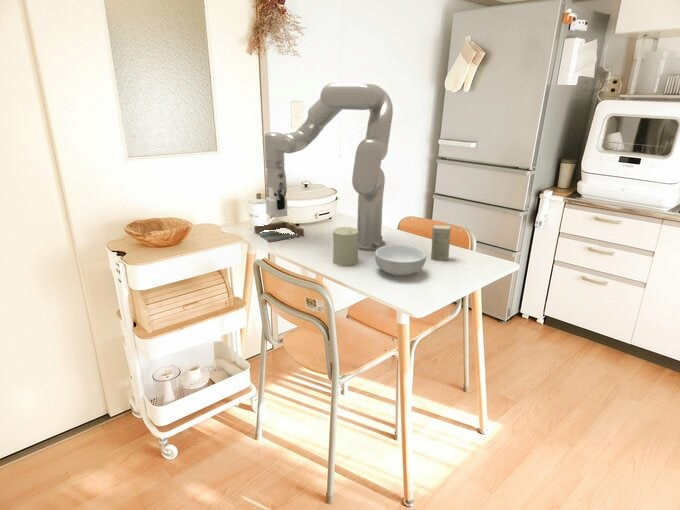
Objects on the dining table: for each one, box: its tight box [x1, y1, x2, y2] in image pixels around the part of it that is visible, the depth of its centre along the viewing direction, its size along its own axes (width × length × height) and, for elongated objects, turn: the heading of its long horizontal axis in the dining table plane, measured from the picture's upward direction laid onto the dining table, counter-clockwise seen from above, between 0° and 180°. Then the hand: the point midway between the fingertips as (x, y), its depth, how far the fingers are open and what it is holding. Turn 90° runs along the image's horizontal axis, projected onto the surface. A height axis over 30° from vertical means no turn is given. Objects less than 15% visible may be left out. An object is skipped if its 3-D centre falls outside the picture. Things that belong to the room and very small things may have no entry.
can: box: [332, 226, 359, 267], centre depth 157 cm, size 9×9×12 cm
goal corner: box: [253, 220, 305, 243], centre depth 188 cm, size 16×16×3 cm
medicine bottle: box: [265, 187, 288, 218], centre depth 182 cm, size 7×7×12 cm
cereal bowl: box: [374, 244, 427, 277], centre depth 148 cm, size 17×17×7 cm
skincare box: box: [430, 224, 451, 262], centre depth 160 cm, size 6×4×12 cm
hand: (276, 206), depth 183 cm, fingers closed on medicine bottle, 7 cm apart
